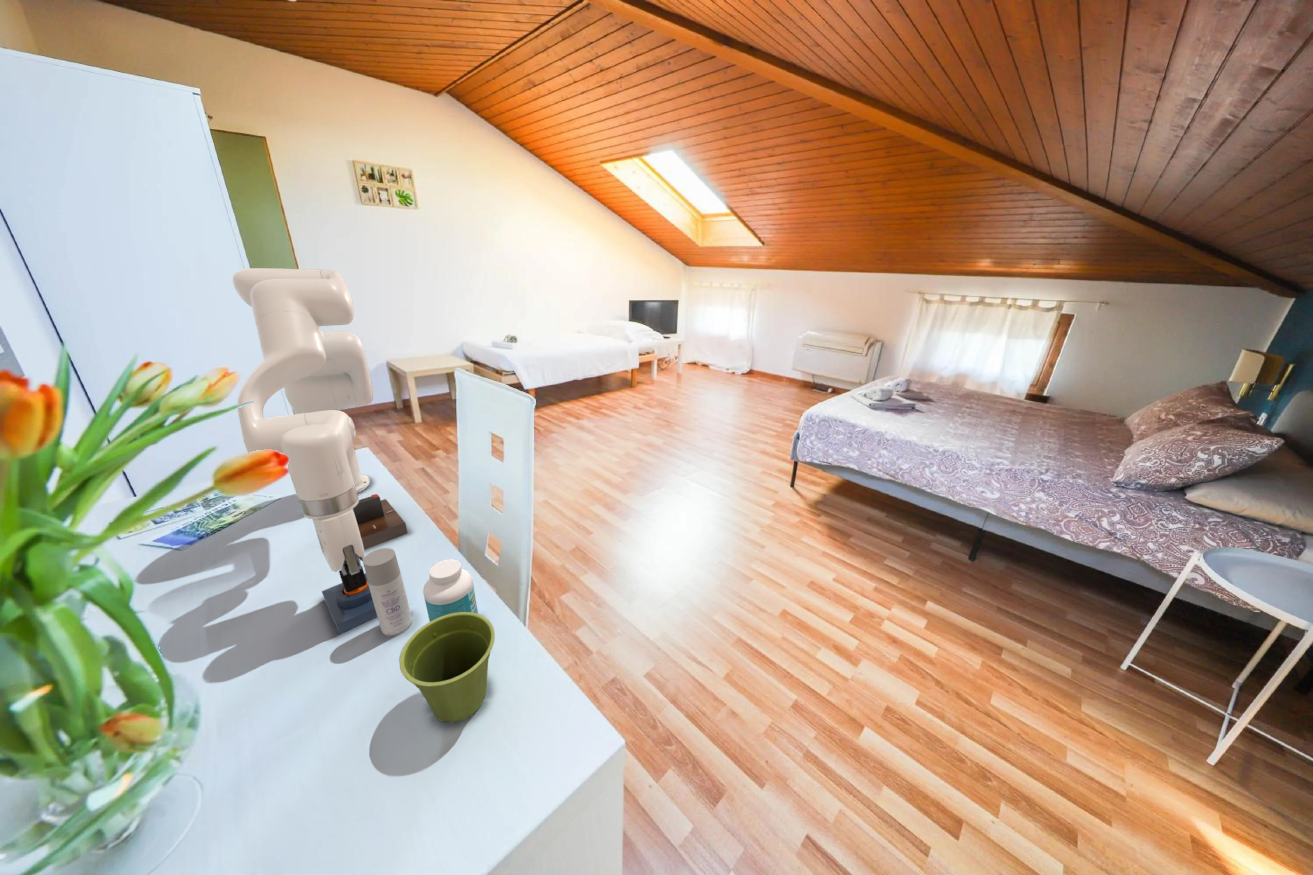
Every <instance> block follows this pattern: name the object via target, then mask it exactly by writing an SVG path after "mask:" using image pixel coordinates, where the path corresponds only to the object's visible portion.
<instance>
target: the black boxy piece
mask: <svg viewBox="0 0 1313 875" xmlns="http://www.w3.org/2000/svg"><path fill="white" fill-rule="evenodd" d="M381 500H382V499H381V497H380V495H379V494H377V493H375V494H372V495H370V496H367V497H364V498H361V499H359V502H358V504H357V505H356V506H355V507H354V508H353V511H354V514H355V518H356V521H357V524H360V523H363V522H366V521H369V520H373V519H376V518H379V517H382V516H384V512H383V508H382V504H381Z"/></svg>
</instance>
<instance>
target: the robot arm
mask: <svg viewBox="0 0 1313 875" xmlns="http://www.w3.org/2000/svg"><path fill="white" fill-rule="evenodd" d="M232 283H233V284H232V285H233V287H234V289H235V291H236V293H237V294H238V296H239V297H240V299H242V301H244V303H245V304H247V306H249V307H251V308H252V309H251V310H252V313H253V319H254V322H255V326H256V330H257V335H258V339H259V343H260V348H261V353H262V357H263V358H262V361H261V363H260V364H258V365H257V367H256V368H255V369H254V370H252V372H250V373H249V375H248V377H247V378H246V380H245V381H244V383H243V385H242V387H241V389H240V391H239V393H238V397H237V406H238V405H239V404H243V403H246V402H249V401H254V403H253V404H248V405H246V406H243V407H241V408H238V407H237V414H238V418H239V419H238V420H239V425H240V429H241V430H240V431H241V434H242V439H243V443H244V446H245V449H246V452H247V453H248V454H249V452H252V451H256V450H264V449H272V450H277V451H279V452H281V453H284V454H285V455H287V456H288V457H289V459H290V461H289V464H288V467H287V470H288V473H289V476H290V479H291V482H292V485H293V488H294V492H295V494H296V497H297V500H298V503H299V505H300V506H299V507H300V509H301V512H302V515H303V516H304V517H305V518H307V519H309V520H312V523H313V527H314V530H315V532H316V536H317V539H318V543H319V546H320V550H321V551H322V554H323V557H324V558H325V561H326V563H327V565H328V567H329V568H330V571H332V572H335V573H337V572H338V573H339V577H340V579H341V583H343V586H344V588H345V590H346V592H351V591H353V590H355V589H358V588H360V587H362V586H365V585H366V584H367V581H366V578H365V570H364V566H362V563H361V562H363V559H364V557H365V556H366V552H365V550H364V547H363V543H362V539H361V535H360V531H359V528H358V524H357V521H356V518H355V514H354V511H353V508H354V507H355V506H356V505H357V504H358V502H359V500H360V499H359V495H358V494H359V493H361V492H362V491H364V490H366V489H367V488H368V487H369V485H370V483H371V480H370V477H369V476H368V475H366V474H363V473H362V472H361V469H360V465H359V461H358V457H357V454H356V450H355V446H354V441H355V440H356V438H357V432H356V426H355V423H354V420H353V418H352V417H351V416H349V415H348V414H347V413H346V412H344V411H342V410H346V409H353V408H354V409H355V408H361V407H365V406H368V405H370V404H371V403H373V400H374V387H373V383H372V382H373V381H372V378H371V373H370V369H369V364H368V359H367V356H366V352H365V348H364V345H363V343H362V341H361V340H360V338H359V336H357V335H356V334H355V333H353V332H350V331H342V330H341V331H322V330H321V327H329V326H345V325H349V324H351V323H352V322H353V320H354V318H355V309H354V308H355V307H354V303H353V299H352V295H351V293H350V290H349V288H348V286H347V284H346V282H345V280H344V278H343V277H342V275H341V274H340V273H339V272H337V271H335V270H332V269H316V268H315V269H312V268H310V269H309V268H307V269H306V268H305V269H304V268H276V267H275V268H273V267H272V268H271V267H270V268H269V267H268V268H266V267H265V268H263V267H260V268H259V267H254V268H253V267H251V268H243V269H239V270H236V271H235V273H233V275H232ZM282 389H283V390H284V394H285V398H286V400H287V402H288V403H289V405H290V408H291V409H292V412H293V413H294V414H287V415H279V416H272V417H267V418H265V417H264V408H265V406H266V404H267V402H268V401H269V399H270V398H271V397H273V396H274V395H275V394H276V393H277V392H279V391H281V390H282Z"/></svg>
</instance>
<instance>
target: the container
mask: <svg viewBox="0 0 1313 875" xmlns="http://www.w3.org/2000/svg"><path fill="white" fill-rule="evenodd" d="M362 564H363V569H364V573H366V577H367V581H368V585H369V589H370V592H371V596H372V599H373V603H374V606H375V610H376V613H377V617H376V618H377V620H378V623H379V627H380V630H381V633H382V635H383V636H385V637H390V638H391V637H396V636H400V635H401V634H403V633H405V632H406V631H408V630H409V629H410V628H411V627H412V624H413V619H412V618H413V617H412V613H411V609H410V605H409V600H408V596H407V593H406V588H405V584H404V580H403V576H402V571H401V568H400V565H399V561H398V558H397V555H396V551H395V550H394V549H393V548H389V547H384V548H378V549H375V550H373V551H371V552H369V553H367V554H365V557H364V559H363V561H362Z"/></svg>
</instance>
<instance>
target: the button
mask: <svg viewBox="0 0 1313 875" xmlns="http://www.w3.org/2000/svg"><path fill="white" fill-rule="evenodd" d="M368 587H369V585H368V582H367V584H366V585H365V586H362V587H360V588H358V589H355V590H353V591H351V592H346V590H345V588H344V592H345V595H348V596H350V595H356V594H358V593H361V592H363V591H364V590H365V589H367V588H368Z"/></svg>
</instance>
